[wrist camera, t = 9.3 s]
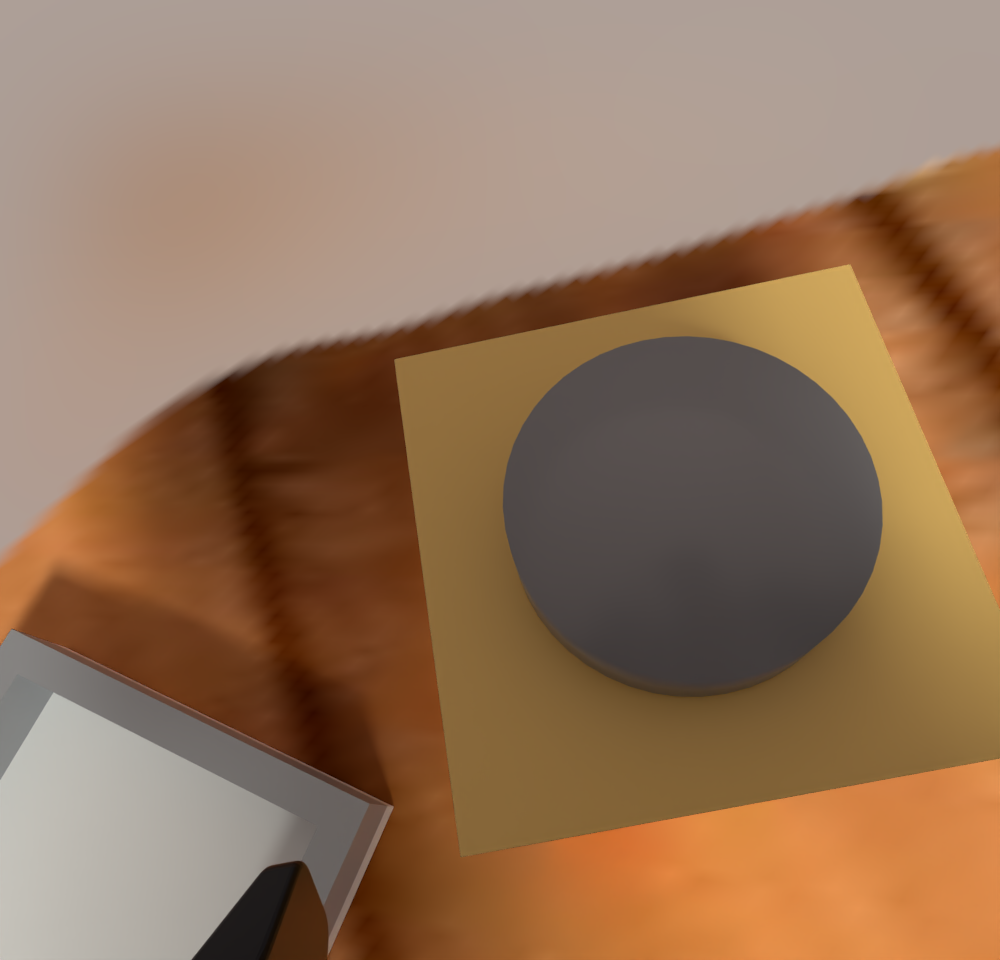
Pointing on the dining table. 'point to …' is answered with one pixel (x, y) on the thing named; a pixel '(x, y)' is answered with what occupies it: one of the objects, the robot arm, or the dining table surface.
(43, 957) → the tray
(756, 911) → the dining table surface
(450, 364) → the tan tall block
